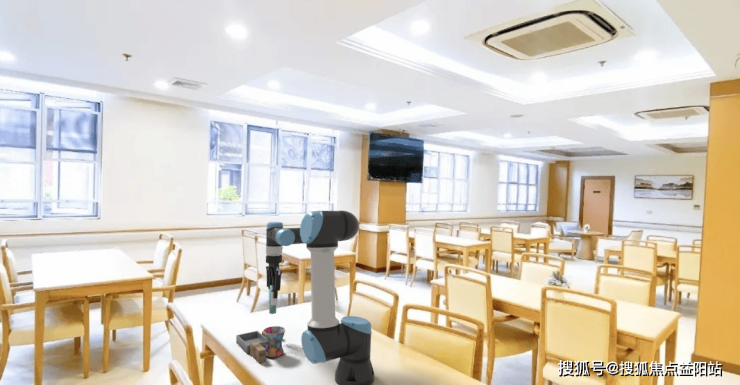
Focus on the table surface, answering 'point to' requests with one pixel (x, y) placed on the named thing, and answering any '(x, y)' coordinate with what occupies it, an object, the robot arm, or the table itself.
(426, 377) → the table surface
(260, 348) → the block
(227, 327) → the table surface
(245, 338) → the tray
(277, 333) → the mug
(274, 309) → the dowel
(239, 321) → the table surface
